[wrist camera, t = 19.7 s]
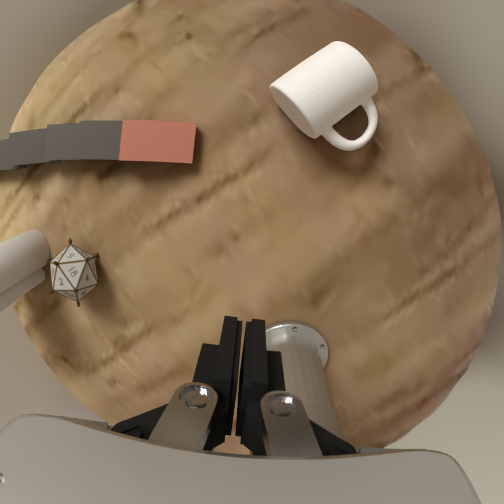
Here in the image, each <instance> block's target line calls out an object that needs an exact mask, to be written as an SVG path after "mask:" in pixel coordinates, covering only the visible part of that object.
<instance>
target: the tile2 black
mask: <svg viewBox="0 0 504 504" xmlns="http://www.w3.org/2000/svg"><path fill="white" fill-rule="evenodd" d="M122 124H123V121H80V123H79V130H78V139H77V149H76V159H104V160H119V153H120V142H121V133H122Z"/></svg>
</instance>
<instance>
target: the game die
mask: <svg viewBox="0 0 504 504" xmlns="http://www.w3.org/2000/svg"><path fill="white" fill-rule="evenodd" d="M68 243H69V245H68V246H67V247H66V248H65V249H64V250H63V251H61V252H60V253H59V254H58V255H57V256H56V257H55V258H54V259H53V260H52V261H50V260H49V259H48V260H46V262H47V263H48V264H49V263H50V270H51V281H52V290H50V291H49V294H52V293H53V291H54V292H57V293H59V294H61V295H63V296H66V297H68V298H70V299H73V300H75V301H77V306H78V307H79V306H80V302H79V301H80V300H81V299H82V298H83V297H84V296H85V295H87V294H88V293H89V292H90V291H91V290H92V289H94V288H95V287H96V286H97V285H99V286H100V287H103V284H102V283H99V282H98V276H97V270H96V263H95V257H98V254H99V253H97V254H96V253H95V254H94V256H93V255H91V254H89V253H87V252H85V251H83V250H81V249H79V248H78V247H76V246H74V245H72V244H71V243H72V240H71V239H70V238H69V242H68Z"/></svg>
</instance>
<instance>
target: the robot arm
mask: <svg viewBox="0 0 504 504" xmlns="http://www.w3.org/2000/svg"><path fill="white" fill-rule="evenodd" d="M237 319H238V317H231V316H225V318H224V323H223V328H222V334H221V339H220V344H219V345H213V344H205V343H203V344H202V347H201V351H200V355H199V358H198V362H197V366H196V370H195V373H194V377H193V381H192V382H189V383H186V384H183V385H181V386H180V387H178V388H177V390H176V391H175V393H174V394H173V396H172V398H171V400H170V401H169V403H168V404H166V405H163V406H161V407H158V408H156V409H153V410H151V411H148V412H146V413H143V414H140V415H138V416H135V417H132V418H130V419H127V420H124V421H121V422H119V423H117V424H116V425H115V426H109V425H108V422H98V421H91V420H83V419H77V418H70V417H64V416H53V415H45V414H26V415H21V416H18V417H16V418H14V419H12V420H11V421H10V422H8V423H7V424H6V425H5V426H4V427H3V428H2V429H1V430H0V504H481V502H480V500H479V498H478V496H477V493H476V491H475V489H474V487H473V485H472V483H471V481H470V480H469V478H468V476H467V475H466V473H465V471H464V470H463V469H462V467H461V466H460V464H459V463H458V462H457V461H456V460H455V459H454V458H453V457H452V456H450V455H448V454H446V453H443V452H439V451H433V450H425V449H384V448H369V447H360V449H355V448H354V447H353V446H352V445H350V444H349V443H347V442H346V441H344V438H343V434H342V431H341V427H340V424H339V420H338V416H337V413H336V409H335V406H334V402H333V399H332V395H331V392H330V388H329V385H328V381H327V378H326V375H325V371H324V367H325V365H326V363H327V360H328V355H329V354H328V346H327V343H326V341H325V338H324V337H323V335H322V334H321V333H320V332H319V331H318V330H317V329H315V328H314V327H312V326H310V325H308V324H305V323H301V322H294V321H291V322H281V323H276V324H273V325H271V326H268V327H267V328H265V320H259V319H252V321H251V322H246V329H245V337H244V345H243V352H242V360H241V368H240V377H239V391H238V406H237V420H236V436H241V443H240V444H243V445H244V446H246V447H247V448H248V449H249V450H250V455H242V454H231V453H222V452H214V448H215V447H216V446H218V445H220V444H222V443H223V442H225V435H231V431H232V423H233V415H234V407H235V399H236V392H237V383H238V372H239V359H240V346H241V333H242V321H237Z"/></svg>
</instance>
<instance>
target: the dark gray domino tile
mask: <svg viewBox="0 0 504 504" xmlns="http://www.w3.org/2000/svg"><path fill="white" fill-rule="evenodd" d="M78 130H79V123H71V124H54V125H48V126H47V135H46V146H45V160H102V159H76V149H77V139H78ZM45 160H44V161H45Z"/></svg>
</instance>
